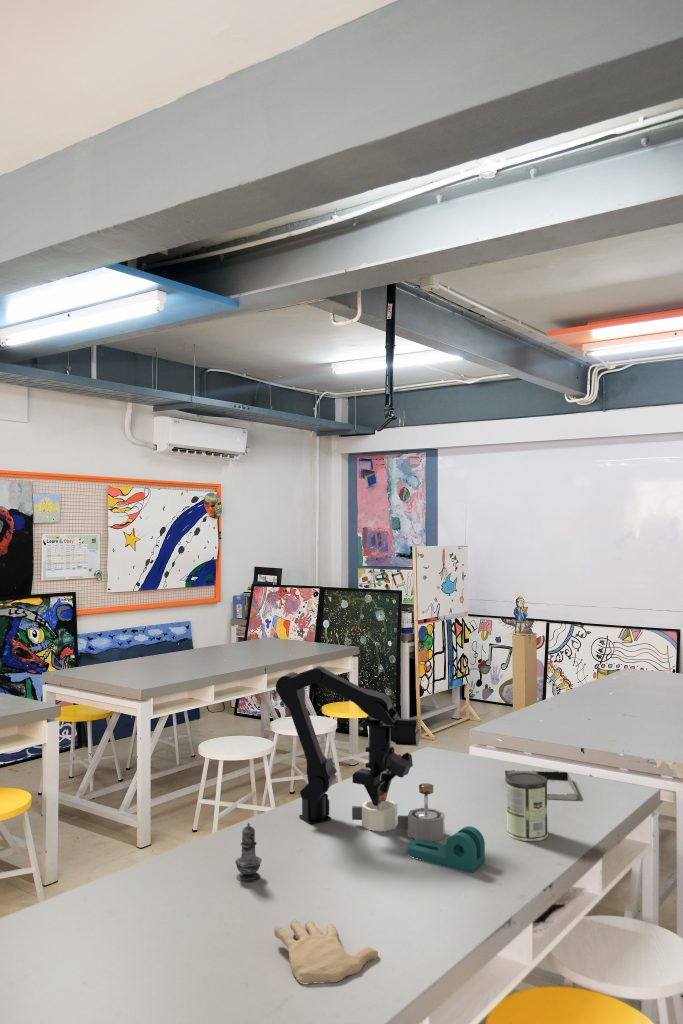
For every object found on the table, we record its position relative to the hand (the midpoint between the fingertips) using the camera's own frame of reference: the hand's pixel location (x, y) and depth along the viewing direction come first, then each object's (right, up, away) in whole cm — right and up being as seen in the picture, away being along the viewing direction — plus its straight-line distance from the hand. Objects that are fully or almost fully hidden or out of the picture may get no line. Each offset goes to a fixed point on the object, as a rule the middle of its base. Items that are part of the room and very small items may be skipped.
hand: (379, 803), depth 216 cm
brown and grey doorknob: (0, -5, 0) cm, 5 cm away
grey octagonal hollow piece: (+11, -6, -7) cm, 15 cm away
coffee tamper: (+11, -1, -7) cm, 13 cm away
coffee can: (+37, -6, -7) cm, 38 cm away
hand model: (-13, -5, -65) cm, 67 cm away
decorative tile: (+49, -7, +31) cm, 58 cm away
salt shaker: (-31, -5, -32) cm, 45 cm away
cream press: (0, -6, 0) cm, 6 cm away
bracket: (+14, -6, -22) cm, 27 cm away
